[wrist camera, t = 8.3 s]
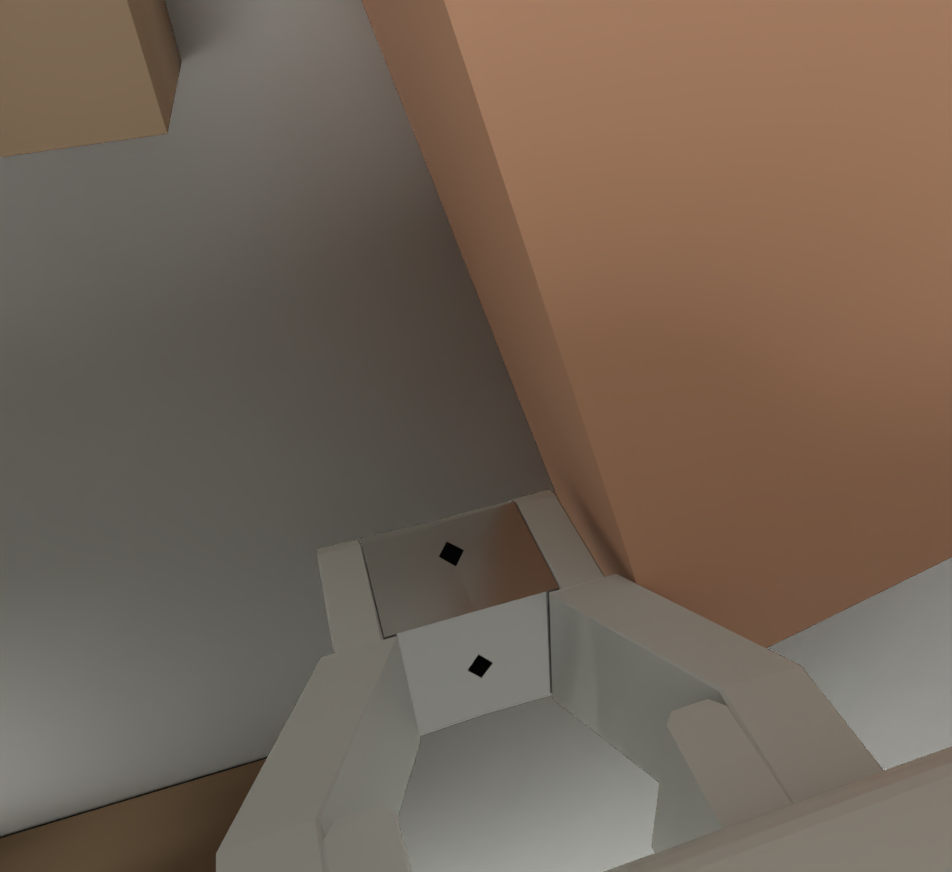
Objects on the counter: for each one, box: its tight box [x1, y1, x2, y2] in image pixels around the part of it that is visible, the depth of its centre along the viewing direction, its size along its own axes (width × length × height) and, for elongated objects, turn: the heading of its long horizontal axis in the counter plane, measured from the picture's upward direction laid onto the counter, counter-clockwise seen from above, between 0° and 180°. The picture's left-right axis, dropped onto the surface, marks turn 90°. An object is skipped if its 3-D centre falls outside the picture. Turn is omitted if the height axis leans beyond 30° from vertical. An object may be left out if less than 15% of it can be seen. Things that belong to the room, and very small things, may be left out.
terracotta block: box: [362, 0, 952, 648], centre depth 8 cm, size 8×8×4 cm
